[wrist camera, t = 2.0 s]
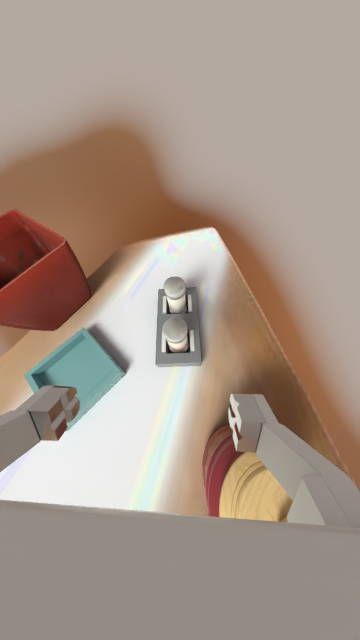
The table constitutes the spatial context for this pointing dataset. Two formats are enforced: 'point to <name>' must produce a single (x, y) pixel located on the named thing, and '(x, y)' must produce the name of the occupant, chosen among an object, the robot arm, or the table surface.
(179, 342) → the grey capped cylinder
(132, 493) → the table surface
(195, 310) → the fuse block
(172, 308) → the fuse
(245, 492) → the canister
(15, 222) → the plant pot
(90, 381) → the tray
